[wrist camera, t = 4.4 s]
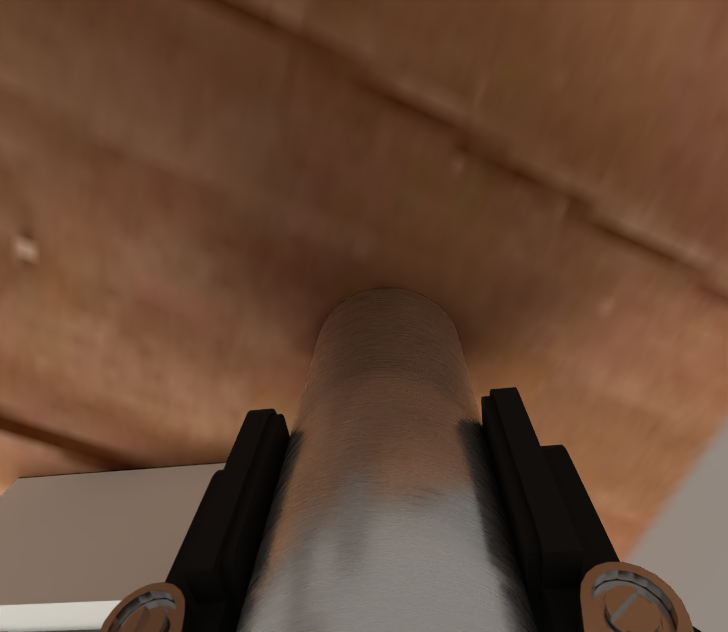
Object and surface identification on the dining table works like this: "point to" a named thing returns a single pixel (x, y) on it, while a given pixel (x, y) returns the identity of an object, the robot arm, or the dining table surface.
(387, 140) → the dining table surface
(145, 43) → the dining table surface
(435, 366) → the peg
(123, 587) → the socket block
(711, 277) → the dining table surface
